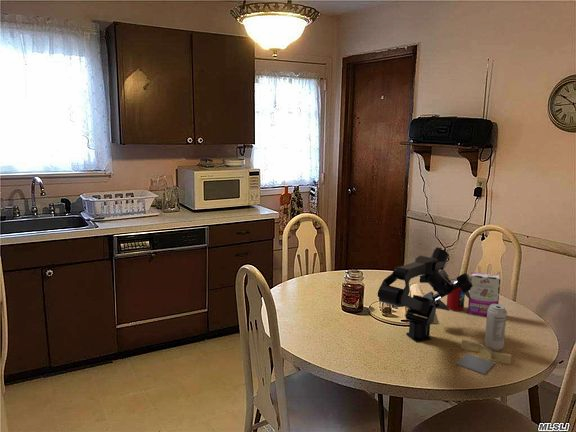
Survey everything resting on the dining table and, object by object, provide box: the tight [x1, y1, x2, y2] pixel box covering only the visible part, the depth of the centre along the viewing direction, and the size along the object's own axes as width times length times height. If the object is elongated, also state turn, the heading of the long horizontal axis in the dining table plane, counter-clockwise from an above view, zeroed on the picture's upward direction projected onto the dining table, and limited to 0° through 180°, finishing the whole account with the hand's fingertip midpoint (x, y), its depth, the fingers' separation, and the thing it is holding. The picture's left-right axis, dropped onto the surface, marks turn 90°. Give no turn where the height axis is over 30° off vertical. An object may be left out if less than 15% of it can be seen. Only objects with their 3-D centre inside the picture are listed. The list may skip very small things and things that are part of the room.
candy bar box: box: [467, 271, 502, 317], centre depth 191 cm, size 11×5×16 cm, turn 68°
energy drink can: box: [483, 303, 508, 352], centre depth 162 cm, size 6×6×15 cm
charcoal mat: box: [455, 353, 496, 376], centre depth 152 cm, size 9×9×1 cm
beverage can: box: [446, 278, 466, 312], centre depth 196 cm, size 7×7×12 cm
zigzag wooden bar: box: [460, 339, 512, 366], centre depth 158 cm, size 16×4×3 cm, turn 48°
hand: (459, 304), depth 179 cm, fingers open, 9 cm apart
